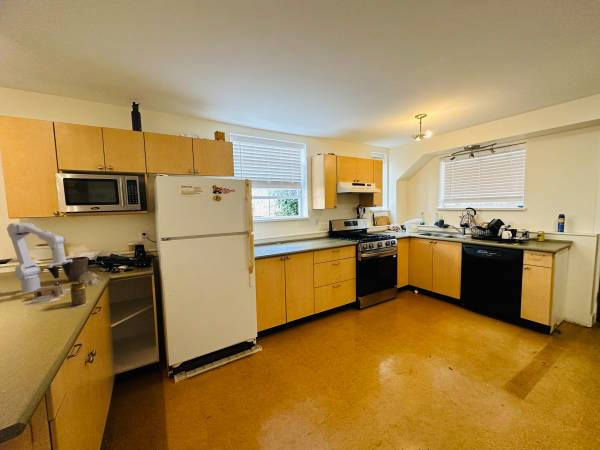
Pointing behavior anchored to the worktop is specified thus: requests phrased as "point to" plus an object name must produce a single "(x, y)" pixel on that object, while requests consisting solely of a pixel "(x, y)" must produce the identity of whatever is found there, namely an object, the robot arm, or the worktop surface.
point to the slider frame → (47, 297)
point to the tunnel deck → (39, 291)
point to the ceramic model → (90, 279)
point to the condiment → (78, 295)
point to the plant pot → (77, 268)
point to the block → (48, 292)
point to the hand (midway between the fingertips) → (62, 276)
